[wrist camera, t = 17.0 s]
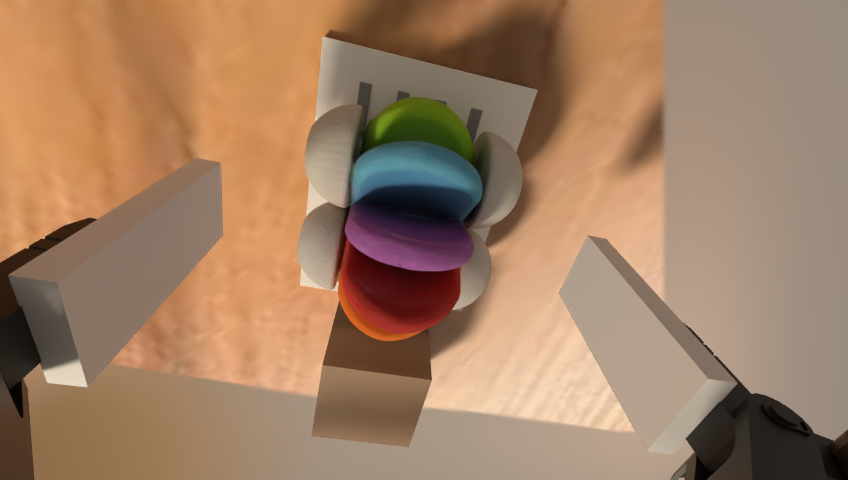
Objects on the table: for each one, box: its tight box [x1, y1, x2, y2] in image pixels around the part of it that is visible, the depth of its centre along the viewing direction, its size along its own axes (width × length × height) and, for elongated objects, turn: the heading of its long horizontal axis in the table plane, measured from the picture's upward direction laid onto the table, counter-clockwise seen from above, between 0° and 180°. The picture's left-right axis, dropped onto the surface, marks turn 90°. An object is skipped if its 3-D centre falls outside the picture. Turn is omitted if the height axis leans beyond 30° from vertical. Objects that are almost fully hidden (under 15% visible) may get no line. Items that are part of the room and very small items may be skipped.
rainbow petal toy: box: [297, 97, 523, 341], centre depth 15 cm, size 8×10×7 cm
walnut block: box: [312, 300, 432, 447], centre depth 21 cm, size 5×5×5 cm
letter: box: [300, 37, 538, 311], centre depth 18 cm, size 12×9×1 cm
